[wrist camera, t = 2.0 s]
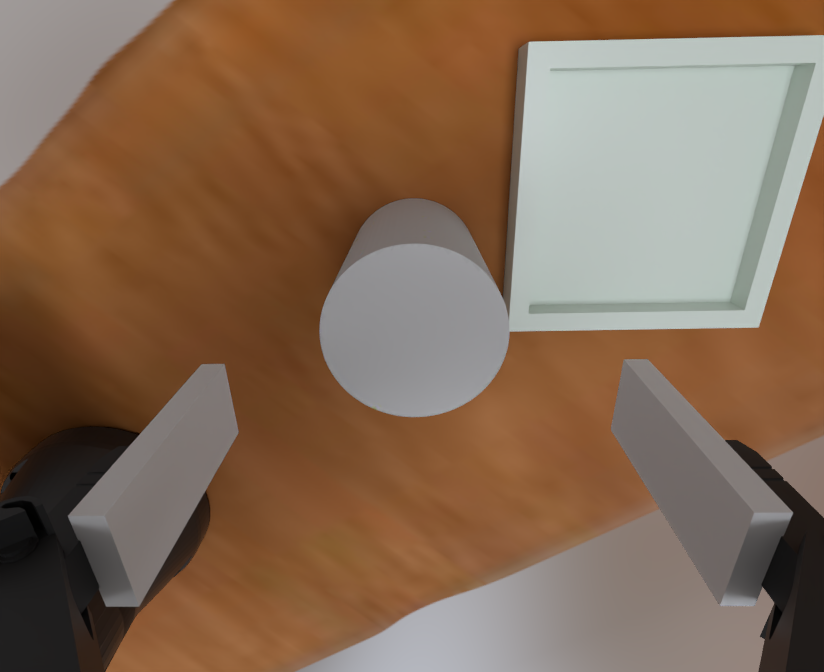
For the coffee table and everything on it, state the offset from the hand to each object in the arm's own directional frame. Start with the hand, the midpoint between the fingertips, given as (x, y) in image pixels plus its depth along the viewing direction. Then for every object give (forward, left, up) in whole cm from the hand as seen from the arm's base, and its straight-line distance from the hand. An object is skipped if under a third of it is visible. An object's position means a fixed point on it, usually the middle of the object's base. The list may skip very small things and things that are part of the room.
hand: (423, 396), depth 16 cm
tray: (+14, +4, -17) cm, 22 cm away
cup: (0, 0, -17) cm, 17 cm away
